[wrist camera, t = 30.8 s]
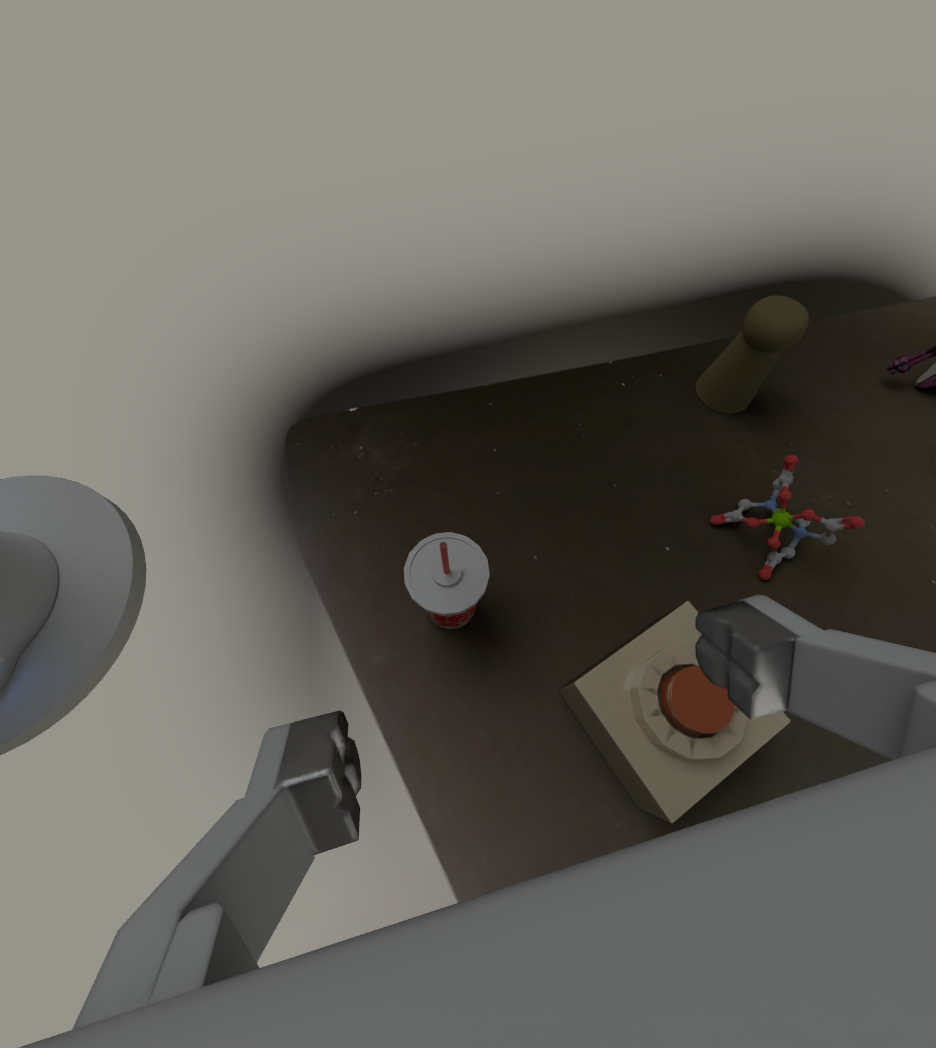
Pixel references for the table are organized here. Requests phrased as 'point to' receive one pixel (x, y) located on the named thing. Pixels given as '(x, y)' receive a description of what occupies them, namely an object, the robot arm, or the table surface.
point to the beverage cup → (447, 578)
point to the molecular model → (786, 520)
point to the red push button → (695, 702)
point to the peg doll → (752, 354)
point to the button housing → (659, 720)
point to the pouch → (930, 379)
